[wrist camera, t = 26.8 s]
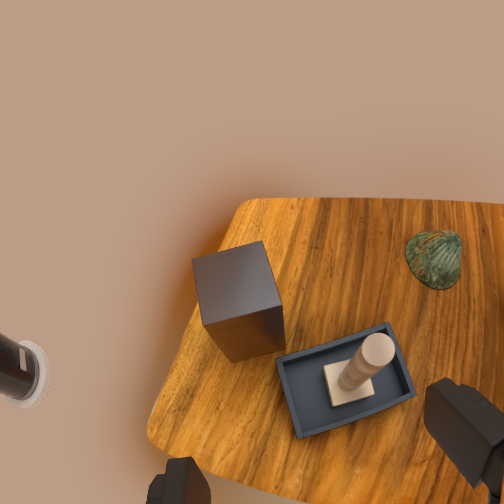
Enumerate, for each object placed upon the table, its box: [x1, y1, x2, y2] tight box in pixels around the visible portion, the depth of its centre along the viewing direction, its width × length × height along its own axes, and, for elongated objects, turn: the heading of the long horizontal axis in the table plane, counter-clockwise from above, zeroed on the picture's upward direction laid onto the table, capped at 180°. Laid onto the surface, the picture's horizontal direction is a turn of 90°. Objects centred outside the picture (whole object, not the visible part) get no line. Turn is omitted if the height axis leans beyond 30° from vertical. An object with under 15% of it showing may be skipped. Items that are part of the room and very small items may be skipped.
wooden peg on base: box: [322, 333, 395, 408], centre depth 28 cm, size 5×5×16 cm
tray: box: [275, 322, 417, 439], centre depth 34 cm, size 14×10×3 cm
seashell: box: [405, 230, 462, 289], centre depth 41 cm, size 10×4×10 cm
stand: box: [192, 241, 286, 363], centre depth 34 cm, size 7×7×14 cm
